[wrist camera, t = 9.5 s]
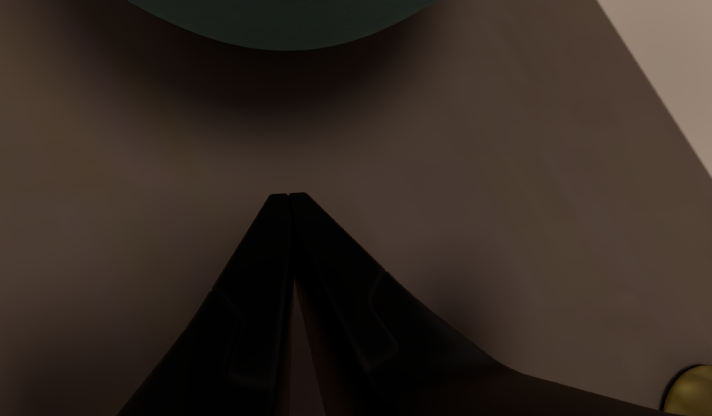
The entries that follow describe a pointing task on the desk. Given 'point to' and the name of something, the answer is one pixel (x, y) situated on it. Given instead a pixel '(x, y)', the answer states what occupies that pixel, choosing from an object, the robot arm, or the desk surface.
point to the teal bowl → (283, 20)
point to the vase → (691, 393)
